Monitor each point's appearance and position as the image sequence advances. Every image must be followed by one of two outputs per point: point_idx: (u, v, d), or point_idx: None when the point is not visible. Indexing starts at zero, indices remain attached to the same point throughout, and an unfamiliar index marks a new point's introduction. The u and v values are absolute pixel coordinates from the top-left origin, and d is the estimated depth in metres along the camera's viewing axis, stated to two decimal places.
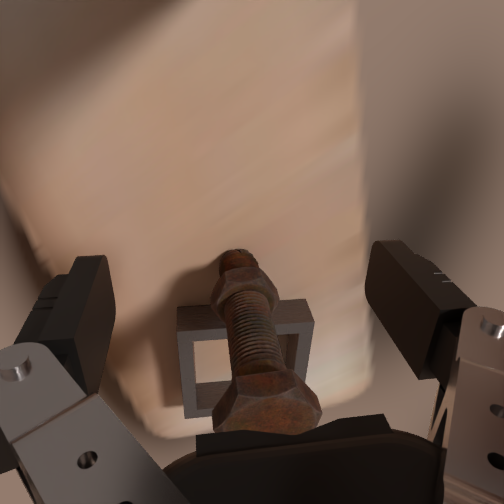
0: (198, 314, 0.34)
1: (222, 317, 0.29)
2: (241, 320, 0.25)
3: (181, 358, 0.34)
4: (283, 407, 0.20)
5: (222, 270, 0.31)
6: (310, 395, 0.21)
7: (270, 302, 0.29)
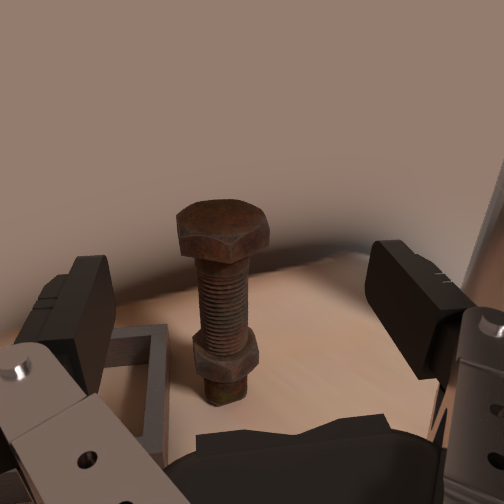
0: (168, 356, 0.33)
1: None
2: None
3: (128, 328, 0.33)
4: (250, 218, 0.23)
5: None
6: (246, 246, 0.22)
7: (230, 357, 0.27)
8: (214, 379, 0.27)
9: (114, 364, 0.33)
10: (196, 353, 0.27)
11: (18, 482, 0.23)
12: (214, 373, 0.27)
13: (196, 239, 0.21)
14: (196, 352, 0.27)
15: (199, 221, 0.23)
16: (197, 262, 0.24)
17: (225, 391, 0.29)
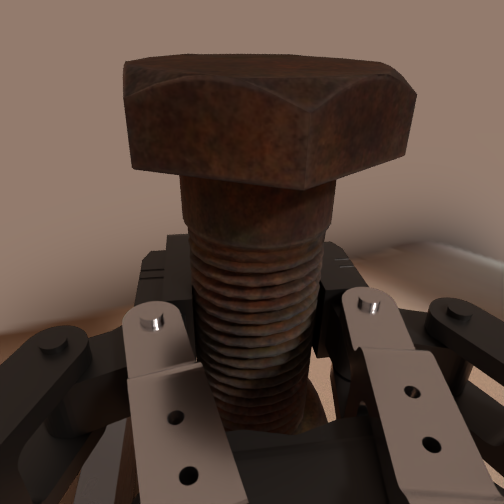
0: None
1: None
2: None
3: None
4: (353, 65, 0.07)
5: None
6: (356, 134, 0.06)
7: None
8: None
9: None
10: None
11: None
12: None
13: (180, 96, 0.06)
14: None
15: (193, 65, 0.07)
16: (189, 205, 0.08)
17: None
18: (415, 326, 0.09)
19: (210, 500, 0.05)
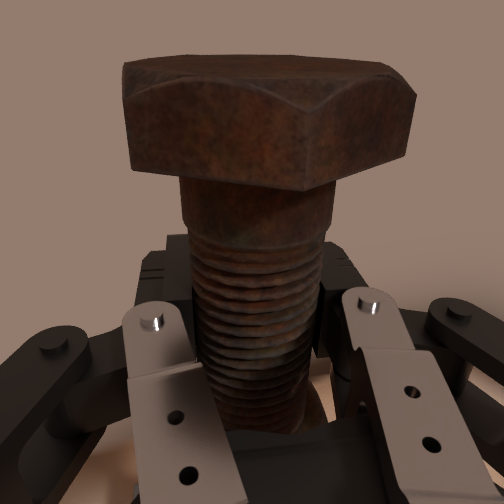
0: None
1: None
2: None
3: None
4: (352, 66, 0.07)
5: None
6: (356, 135, 0.06)
7: None
8: None
9: None
10: None
11: None
12: None
13: (179, 97, 0.06)
14: None
15: (193, 66, 0.07)
16: (188, 206, 0.08)
17: None
18: (415, 326, 0.09)
19: (210, 501, 0.05)
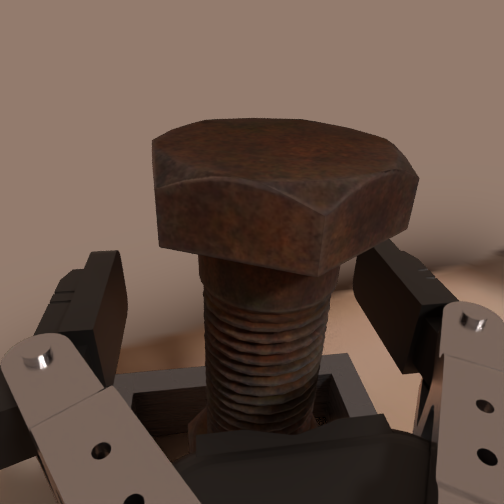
0: None
1: None
2: None
3: None
4: (361, 148, 0.08)
5: None
6: (364, 223, 0.07)
7: None
8: None
9: None
10: None
11: None
12: None
13: (208, 193, 0.07)
14: None
15: (215, 150, 0.08)
16: (207, 268, 0.09)
17: None
18: None
19: None
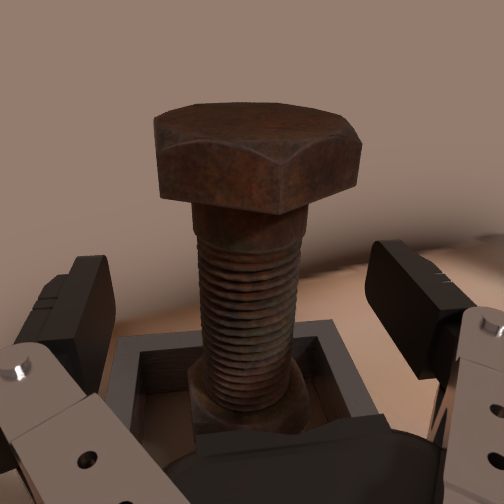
0: None
1: None
2: None
3: None
4: (317, 122, 0.10)
5: None
6: (316, 176, 0.09)
7: (260, 416, 0.14)
8: None
9: None
10: (194, 405, 0.14)
11: None
12: None
13: (195, 152, 0.09)
14: (194, 403, 0.14)
15: (203, 123, 0.10)
16: (198, 221, 0.11)
17: None
18: None
19: None
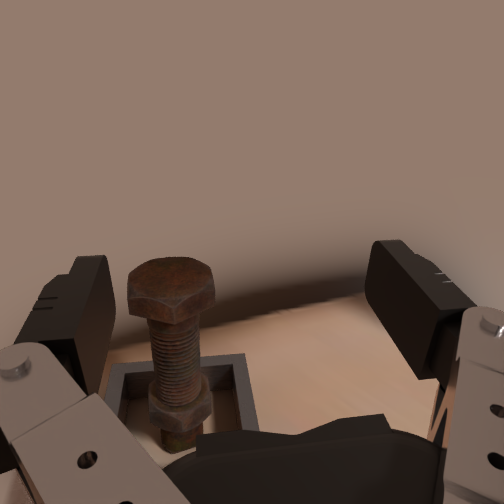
0: None
1: None
2: None
3: (210, 357, 0.35)
4: (197, 279, 0.24)
5: None
6: (191, 307, 0.23)
7: (182, 408, 0.28)
8: (166, 429, 0.28)
9: None
10: (149, 403, 0.28)
11: None
12: (166, 423, 0.28)
13: (142, 300, 0.23)
14: (149, 402, 0.28)
15: (148, 282, 0.24)
16: (147, 318, 0.25)
17: (179, 439, 0.29)
18: None
19: None
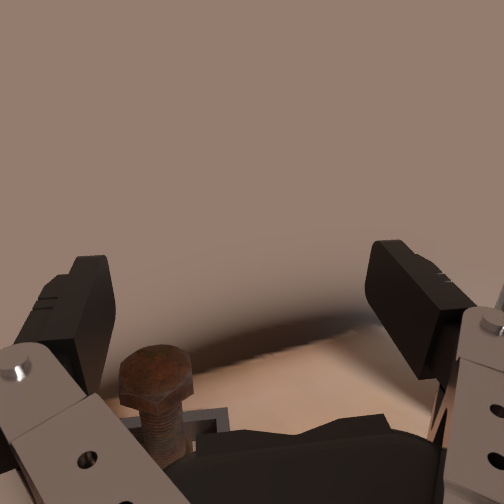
0: None
1: None
2: None
3: (196, 411, 0.40)
4: (178, 372, 0.29)
5: None
6: (172, 400, 0.28)
7: None
8: None
9: None
10: None
11: None
12: None
13: (130, 396, 0.27)
14: None
15: (136, 376, 0.28)
16: None
17: None
18: None
19: None
